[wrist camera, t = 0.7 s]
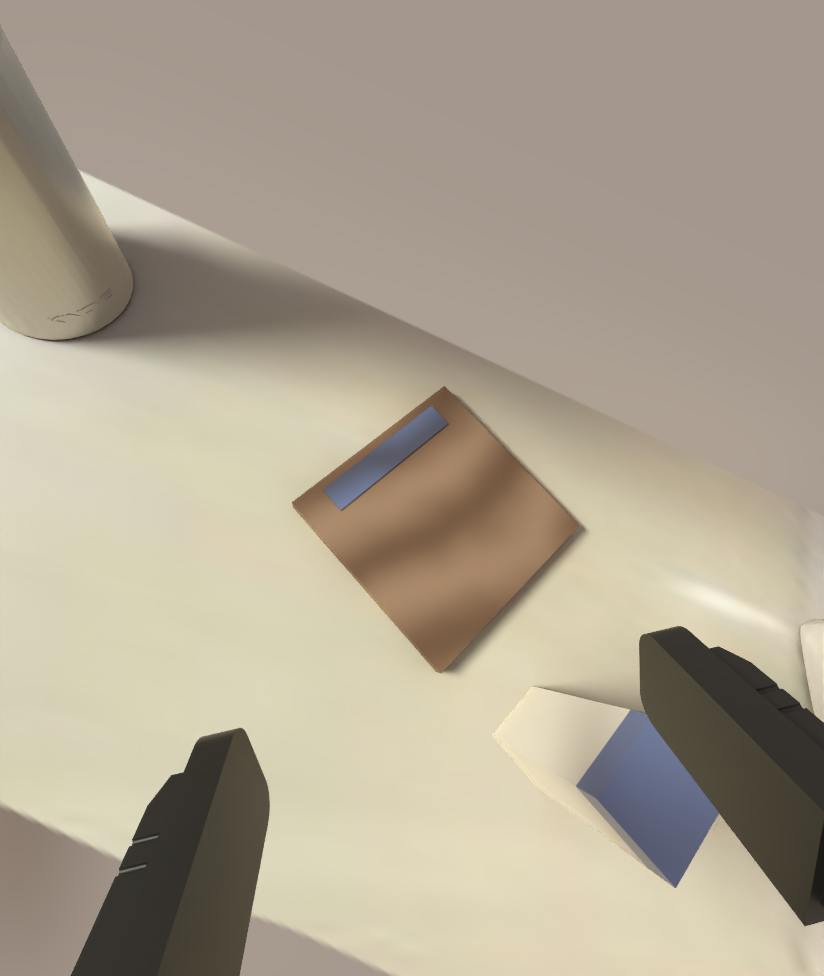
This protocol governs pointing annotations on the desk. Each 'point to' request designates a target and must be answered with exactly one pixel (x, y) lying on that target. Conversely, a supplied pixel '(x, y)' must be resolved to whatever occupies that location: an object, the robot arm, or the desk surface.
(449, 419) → the pad
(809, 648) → the photo printer
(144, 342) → the desk surface
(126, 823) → the desk surface
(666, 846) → the cartridge
